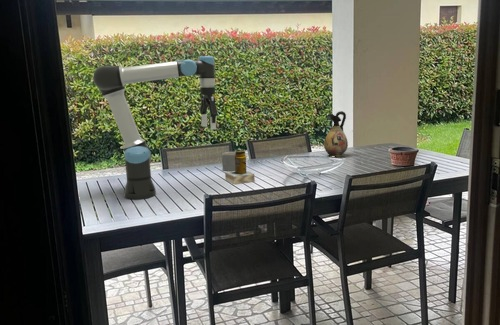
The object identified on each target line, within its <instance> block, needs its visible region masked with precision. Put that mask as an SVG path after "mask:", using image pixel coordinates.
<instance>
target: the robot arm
mask: <svg viewBox="0 0 500 325" xmlns="http://www.w3.org/2000/svg"><path fill="white" fill-rule="evenodd" d="M215 69H216V68H215V57H214V56H212V55H200V56H199V58H198V59H196V60H195V59H191V58H189V59H179V60H175V61H174V60H173V61H167V62H158V63H150V64H143V65H141V64H140V65H134V66H127V67H122V66H121V65H116V66H115V65H114V66H113V65H102V66H101V65H100V66H99V67H97V68H96V69H95V70H94V71H93V74H92V80H93V83H94V85H95V86H96V87H97V89H99V91H100V94H101V96H102V97H103V98H104V99H106V101H107V103H108V106H109V108H110V110H111V112H112V115H113V118H114V120H115V122H116V125H117V128H118V130H119V134H120V136H121V138H122V141H123V143H124V145H123V147H122V148H123V153H124V156H123V157H124V164H125V173H126V184H125V188H124V192H123V193H124V198H125V199H127V200H143V199H144V200H145V199H148V198H152V197H155V196H156V195H157V191H156V187H155V185H154V183H153V179H152V172H151V160H152V152H151V150H150V148H148V145H147V142H146V140H145V139H144V138H142V137H141V135H140V133H139V132H140V131H139V130H138V127H137V124H136V122H135V119H134V116H133V114H132V112H131V109H130V106H129V104H128V101H127V99H126V96H125V91H126V88H125V86H126V85H128V84H135V83H142V82H149V81H150V82H151V81H152V82H153V81H158V80H166V79H167V80H168V79H174V78H182V77H191V76H199V85H200V86H199V87H200V90H199V92H200V95H201V102H200V109H199V113H200V114H201V127H208V111H209V114H210V115H209V121H210V131H213V130H217V116H218V110H217V104H216V97H215V96H213V95H215V94H216V87H215V86H216V79H215V77H216V75H215V73H216V72H215Z"/></svg>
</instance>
